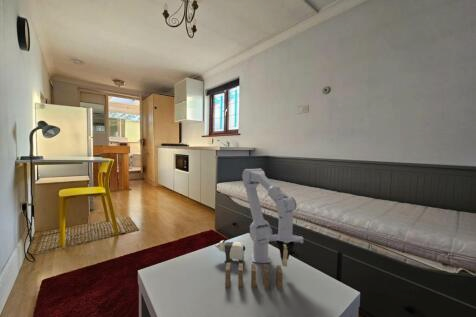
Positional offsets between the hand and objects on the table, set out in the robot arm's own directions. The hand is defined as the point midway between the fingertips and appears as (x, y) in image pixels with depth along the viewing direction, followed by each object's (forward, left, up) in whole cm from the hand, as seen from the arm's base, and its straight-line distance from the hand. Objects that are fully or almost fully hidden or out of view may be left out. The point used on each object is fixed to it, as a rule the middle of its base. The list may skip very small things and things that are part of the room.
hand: (284, 258), depth 83 cm
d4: (+6, -8, -8) cm, 13 cm away
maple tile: (0, 0, -2) cm, 2 cm away
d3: (+6, -13, -8) cm, 16 cm away
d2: (+6, -18, -8) cm, 20 cm away
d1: (+6, -23, -8) cm, 25 cm away
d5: (+6, -3, -8) cm, 10 cm away
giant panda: (-10, -23, -8) cm, 26 cm away
